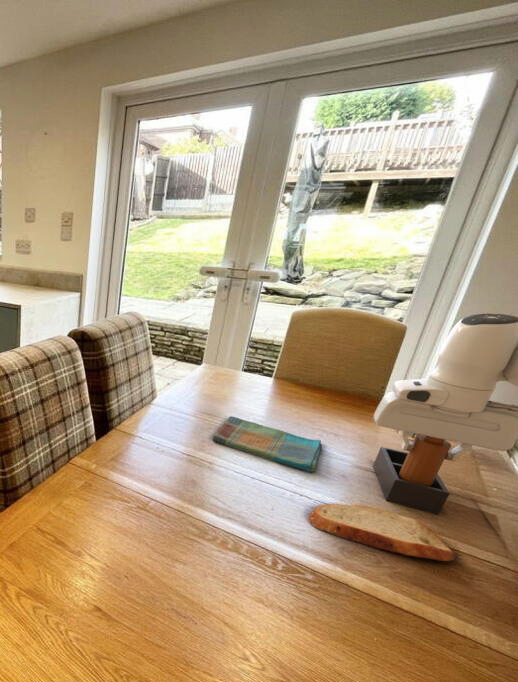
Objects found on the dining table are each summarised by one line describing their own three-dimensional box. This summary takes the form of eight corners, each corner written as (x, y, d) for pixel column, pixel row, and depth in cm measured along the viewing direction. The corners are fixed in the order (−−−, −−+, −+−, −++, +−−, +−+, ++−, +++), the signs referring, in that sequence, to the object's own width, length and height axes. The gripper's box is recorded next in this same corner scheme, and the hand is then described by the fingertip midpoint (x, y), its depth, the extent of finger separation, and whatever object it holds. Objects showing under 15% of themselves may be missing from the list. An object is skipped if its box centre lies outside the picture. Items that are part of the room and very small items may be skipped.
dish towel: (313, 476, 95) (317, 467, 94) (211, 442, 109) (213, 434, 108) (321, 447, 107) (324, 439, 106) (228, 420, 121) (230, 413, 120)
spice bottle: (427, 477, 87) (452, 426, 82) (434, 490, 83) (461, 436, 78) (396, 470, 90) (418, 419, 85) (401, 482, 86) (425, 429, 81)
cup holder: (418, 476, 95) (427, 456, 93) (438, 515, 83) (449, 493, 80) (372, 465, 99) (380, 446, 97) (385, 500, 87) (395, 479, 85)
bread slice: (298, 517, 82) (304, 502, 80) (354, 497, 88) (360, 483, 86) (404, 587, 66) (412, 570, 65) (463, 557, 72) (472, 541, 71)
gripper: (524, 401, 76) (491, 462, 81) (385, 379, 86) (363, 434, 91) (541, 414, 71) (504, 478, 76) (391, 389, 81) (368, 446, 86)
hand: (426, 454), depth 84 cm, fingers closed on spice bottle, 5 cm apart
